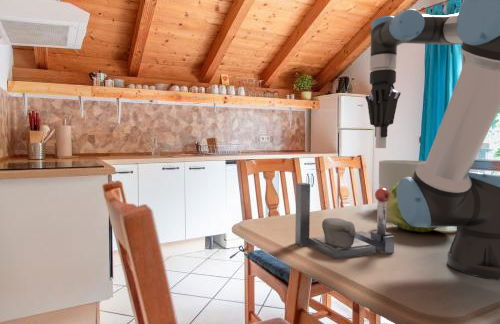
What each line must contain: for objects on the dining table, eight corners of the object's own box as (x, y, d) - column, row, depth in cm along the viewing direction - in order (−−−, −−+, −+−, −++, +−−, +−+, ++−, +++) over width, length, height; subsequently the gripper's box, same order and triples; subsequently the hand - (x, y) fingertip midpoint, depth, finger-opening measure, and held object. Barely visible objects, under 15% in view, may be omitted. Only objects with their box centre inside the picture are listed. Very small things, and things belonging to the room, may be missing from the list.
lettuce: (374, 223, 134) (370, 177, 131) (441, 217, 130) (438, 169, 126) (386, 246, 115) (381, 192, 112) (464, 240, 111) (462, 184, 108)
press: (394, 252, 98) (396, 187, 97) (326, 261, 91) (327, 191, 89) (355, 236, 114) (356, 180, 113) (295, 243, 107) (296, 183, 105)
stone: (320, 246, 95) (321, 210, 99) (321, 252, 103) (323, 218, 107) (355, 249, 93) (355, 212, 97) (353, 255, 101) (354, 221, 105)
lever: (391, 241, 99) (393, 188, 98) (380, 242, 98) (381, 189, 97) (382, 237, 103) (383, 186, 102) (370, 238, 102) (372, 187, 101)
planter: (416, 218, 141) (418, 163, 140) (369, 210, 156) (370, 161, 154) (436, 211, 155) (438, 161, 153) (391, 204, 170) (392, 159, 168)
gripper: (408, 67, 104) (406, 148, 106) (378, 75, 117) (376, 147, 118) (388, 66, 102) (385, 148, 103) (359, 73, 114) (357, 147, 116)
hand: (380, 147), depth 111 cm, fingers closed
